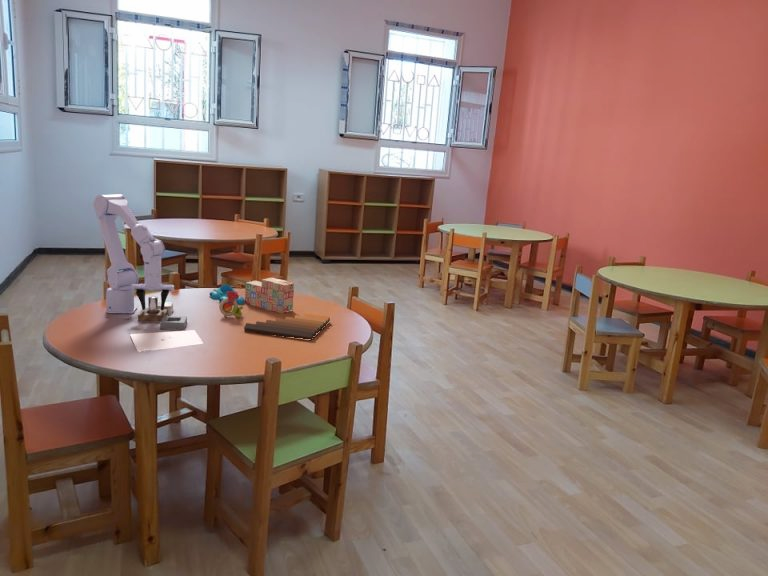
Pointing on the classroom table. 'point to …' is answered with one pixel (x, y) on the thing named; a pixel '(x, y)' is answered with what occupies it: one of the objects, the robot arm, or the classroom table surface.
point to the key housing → (167, 306)
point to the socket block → (152, 315)
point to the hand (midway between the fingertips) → (153, 309)
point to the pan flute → (290, 326)
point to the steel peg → (153, 304)
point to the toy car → (225, 294)
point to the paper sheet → (165, 340)
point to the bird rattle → (227, 307)
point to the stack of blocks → (270, 294)
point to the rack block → (173, 322)
